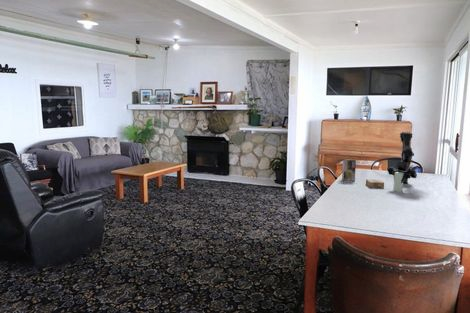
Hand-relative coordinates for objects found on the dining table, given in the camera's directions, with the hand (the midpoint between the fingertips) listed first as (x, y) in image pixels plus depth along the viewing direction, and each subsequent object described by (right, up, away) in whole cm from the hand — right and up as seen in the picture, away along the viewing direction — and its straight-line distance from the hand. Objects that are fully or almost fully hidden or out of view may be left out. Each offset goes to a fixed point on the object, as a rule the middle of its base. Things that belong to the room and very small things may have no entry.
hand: (397, 182), depth 254 cm
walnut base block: (-10, -4, +16) cm, 19 cm away
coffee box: (-22, -1, +38) cm, 44 cm away
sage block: (+1, -6, +2) cm, 7 cm away
